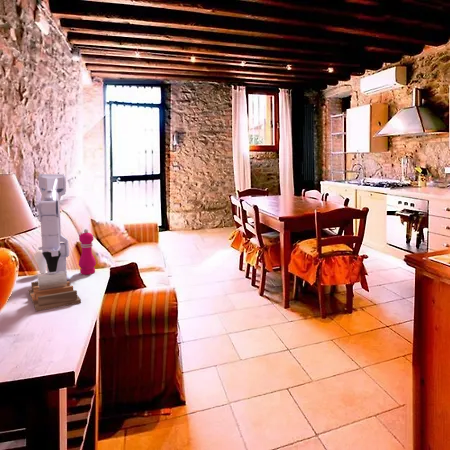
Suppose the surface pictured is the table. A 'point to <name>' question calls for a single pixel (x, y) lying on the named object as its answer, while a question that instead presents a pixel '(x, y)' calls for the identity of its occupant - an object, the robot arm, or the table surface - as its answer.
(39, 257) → the lightbulb
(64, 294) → the rack
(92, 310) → the table surface
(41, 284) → the wooden block
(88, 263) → the pepper mill
